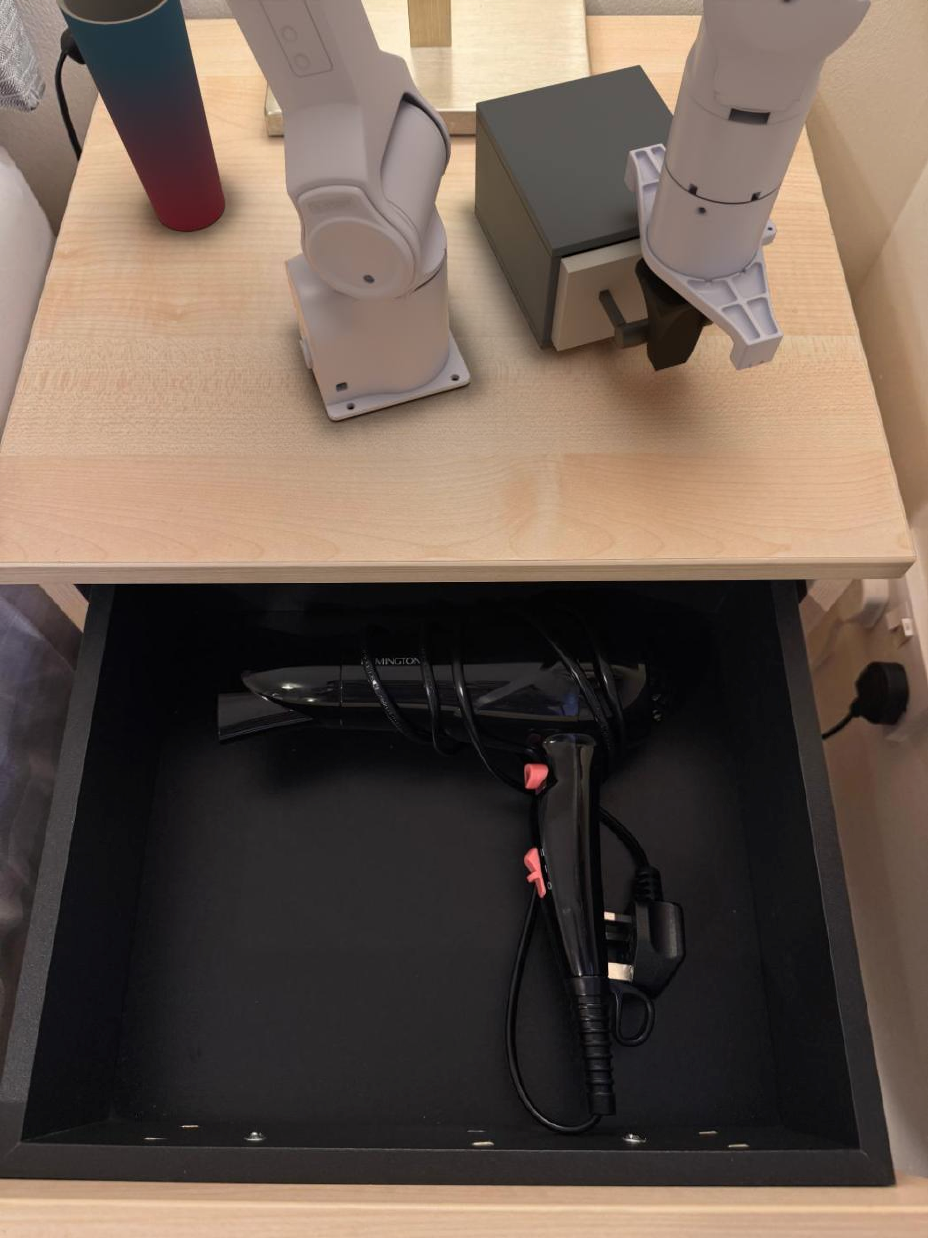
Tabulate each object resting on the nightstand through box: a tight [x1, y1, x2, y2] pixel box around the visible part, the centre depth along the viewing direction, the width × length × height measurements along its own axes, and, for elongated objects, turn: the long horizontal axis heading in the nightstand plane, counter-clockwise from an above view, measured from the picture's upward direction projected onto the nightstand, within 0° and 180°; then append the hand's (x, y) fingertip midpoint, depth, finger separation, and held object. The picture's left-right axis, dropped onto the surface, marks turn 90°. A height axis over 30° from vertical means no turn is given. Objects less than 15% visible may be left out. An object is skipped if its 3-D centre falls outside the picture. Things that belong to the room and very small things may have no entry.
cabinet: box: [474, 64, 674, 350], centre depth 58 cm, size 13×11×8 cm
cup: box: [56, 0, 226, 232], centre depth 57 cm, size 7×7×15 cm
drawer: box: [551, 238, 715, 352], centre depth 56 cm, size 17×10×7 cm, turn 19°
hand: (665, 358), depth 54 cm, fingers closed, pressing on drawer
